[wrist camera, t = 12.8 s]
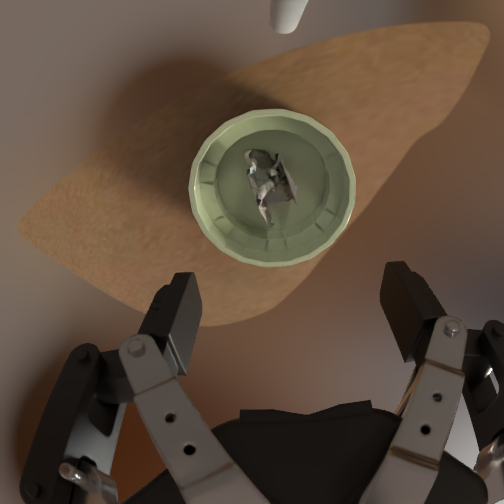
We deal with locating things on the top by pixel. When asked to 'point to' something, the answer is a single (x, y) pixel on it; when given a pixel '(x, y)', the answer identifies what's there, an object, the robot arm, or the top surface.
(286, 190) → the crumpled paper
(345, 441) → the robot arm
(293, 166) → the bowl
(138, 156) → the top surface
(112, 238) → the top surface
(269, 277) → the top surface
